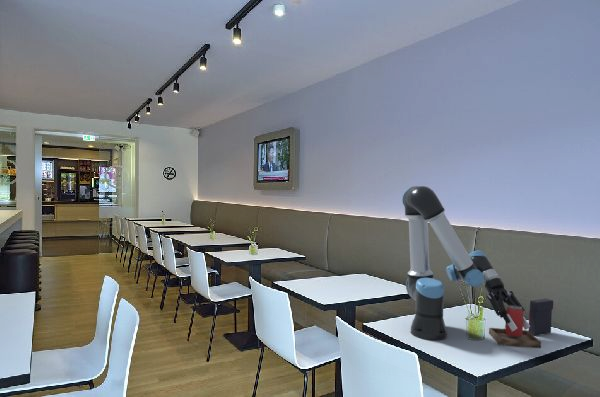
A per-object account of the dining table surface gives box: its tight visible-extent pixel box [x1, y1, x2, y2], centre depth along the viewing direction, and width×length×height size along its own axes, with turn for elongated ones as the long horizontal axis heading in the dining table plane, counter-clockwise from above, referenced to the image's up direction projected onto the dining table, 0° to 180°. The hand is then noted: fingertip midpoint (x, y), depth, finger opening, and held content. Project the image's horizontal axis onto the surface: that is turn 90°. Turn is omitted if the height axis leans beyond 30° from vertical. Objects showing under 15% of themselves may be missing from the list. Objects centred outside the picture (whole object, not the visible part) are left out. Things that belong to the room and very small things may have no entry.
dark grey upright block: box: [527, 298, 554, 337], centre depth 186 cm, size 11×4×15 cm, turn 115°
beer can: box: [504, 304, 524, 337], centre depth 176 cm, size 7×7×12 cm
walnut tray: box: [488, 327, 542, 349], centre depth 176 cm, size 16×14×2 cm
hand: (521, 328), depth 173 cm, fingers closed on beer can, 6 cm apart
